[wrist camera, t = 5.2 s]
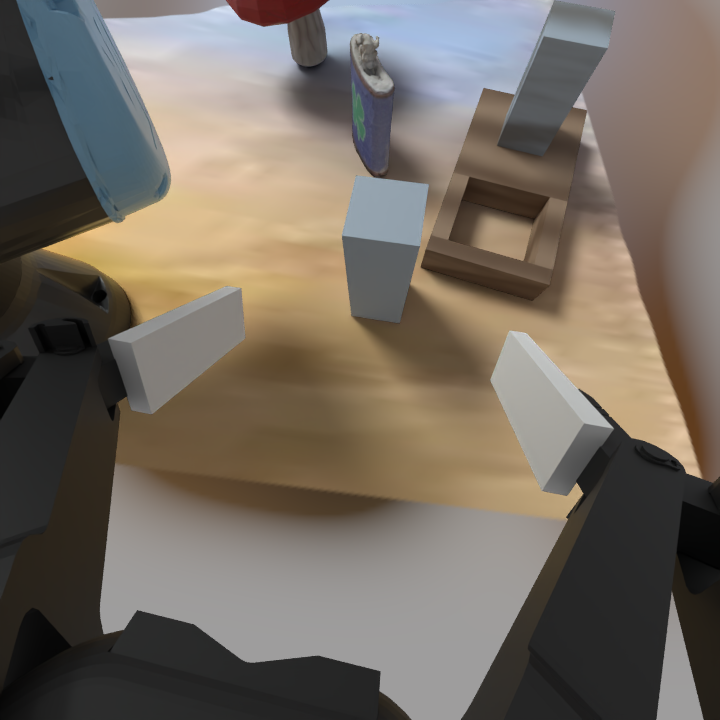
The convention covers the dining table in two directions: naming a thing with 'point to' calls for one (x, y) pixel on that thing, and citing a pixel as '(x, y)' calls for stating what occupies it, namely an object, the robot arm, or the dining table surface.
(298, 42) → the decorative mushroom
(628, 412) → the dining table surface
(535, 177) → the block insertion board
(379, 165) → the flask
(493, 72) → the dining table surface
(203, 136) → the dining table surface
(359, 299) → the gray rectangular block
